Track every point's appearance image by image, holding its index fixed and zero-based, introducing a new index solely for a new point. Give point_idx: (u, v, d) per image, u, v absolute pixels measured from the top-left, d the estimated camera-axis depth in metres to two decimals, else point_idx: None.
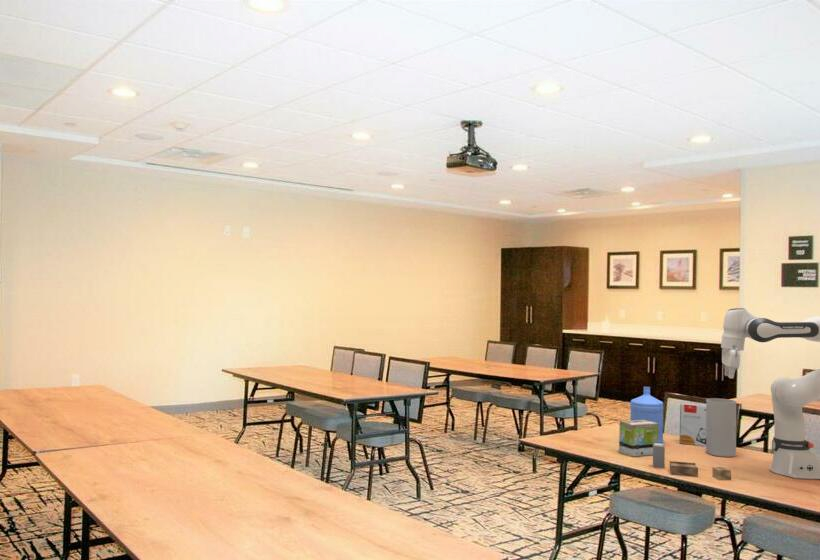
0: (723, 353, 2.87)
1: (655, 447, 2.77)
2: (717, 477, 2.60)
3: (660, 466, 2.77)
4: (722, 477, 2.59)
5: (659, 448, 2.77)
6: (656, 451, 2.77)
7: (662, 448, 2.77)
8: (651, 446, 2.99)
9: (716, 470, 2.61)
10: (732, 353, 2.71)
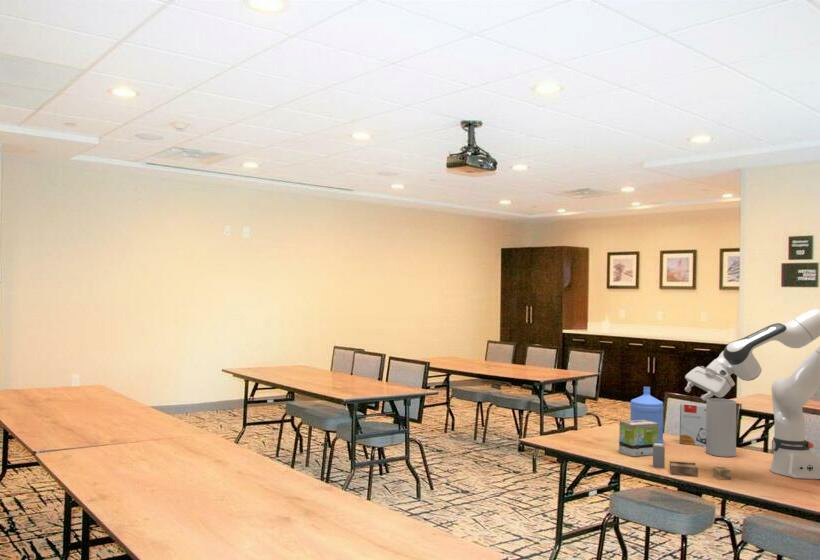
0: None
1: (655, 447, 2.77)
2: (717, 477, 2.60)
3: (660, 466, 2.77)
4: (722, 477, 2.59)
5: (659, 448, 2.77)
6: (656, 451, 2.77)
7: (662, 448, 2.77)
8: (651, 446, 2.99)
9: (716, 470, 2.61)
10: None
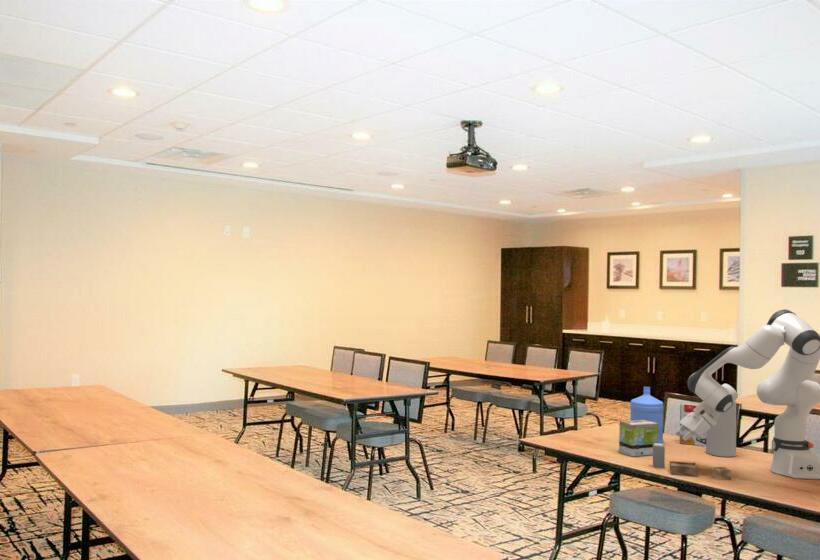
0: None
1: (655, 447, 2.77)
2: (717, 477, 2.60)
3: (660, 466, 2.77)
4: (722, 477, 2.59)
5: (659, 448, 2.77)
6: (656, 451, 2.77)
7: (662, 448, 2.77)
8: (651, 446, 2.99)
9: (716, 470, 2.61)
10: None
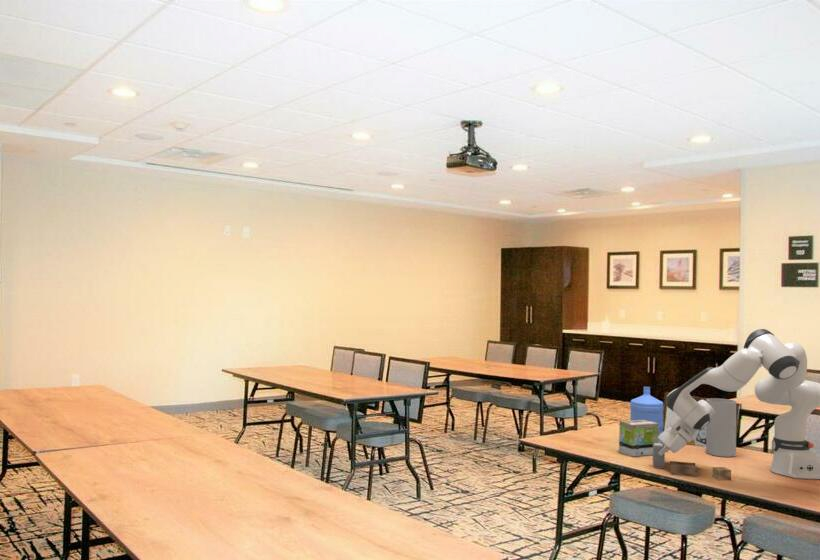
0: None
1: (655, 447, 2.77)
2: (717, 477, 2.60)
3: (660, 466, 2.77)
4: (722, 477, 2.59)
5: (659, 448, 2.77)
6: (656, 451, 2.77)
7: (662, 448, 2.77)
8: (651, 446, 2.99)
9: (716, 470, 2.61)
10: None
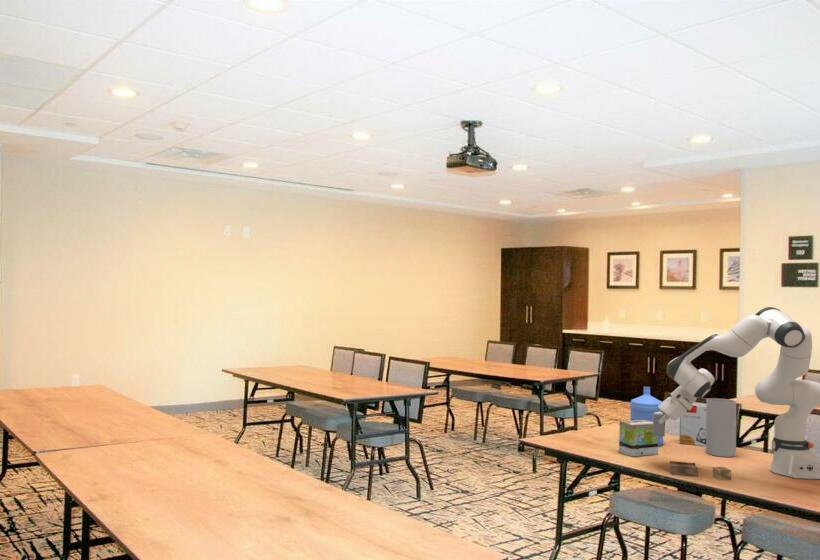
0: None
1: (655, 415, 2.78)
2: (717, 477, 2.60)
3: (660, 434, 2.77)
4: (722, 477, 2.59)
5: (659, 416, 2.77)
6: (656, 419, 2.78)
7: (662, 416, 2.77)
8: (651, 446, 2.99)
9: (716, 470, 2.61)
10: None
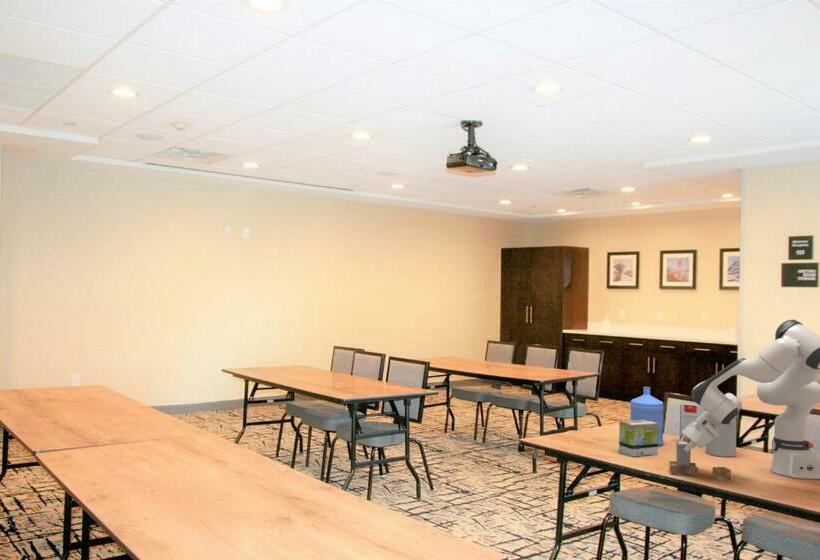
0: None
1: (681, 446, 2.67)
2: (717, 477, 2.60)
3: (686, 465, 2.66)
4: (722, 477, 2.59)
5: None
6: (682, 450, 2.67)
7: None
8: (651, 446, 2.99)
9: (716, 470, 2.61)
10: None
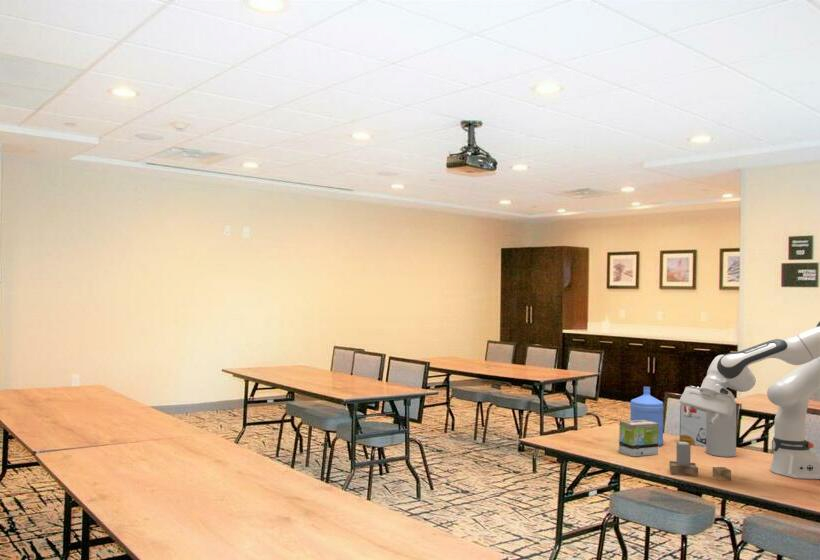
0: None
1: (681, 446, 2.67)
2: (717, 477, 2.60)
3: (686, 465, 2.66)
4: (722, 477, 2.59)
5: (685, 447, 2.67)
6: (682, 450, 2.67)
7: (688, 447, 2.66)
8: (651, 446, 2.99)
9: (716, 470, 2.61)
10: None
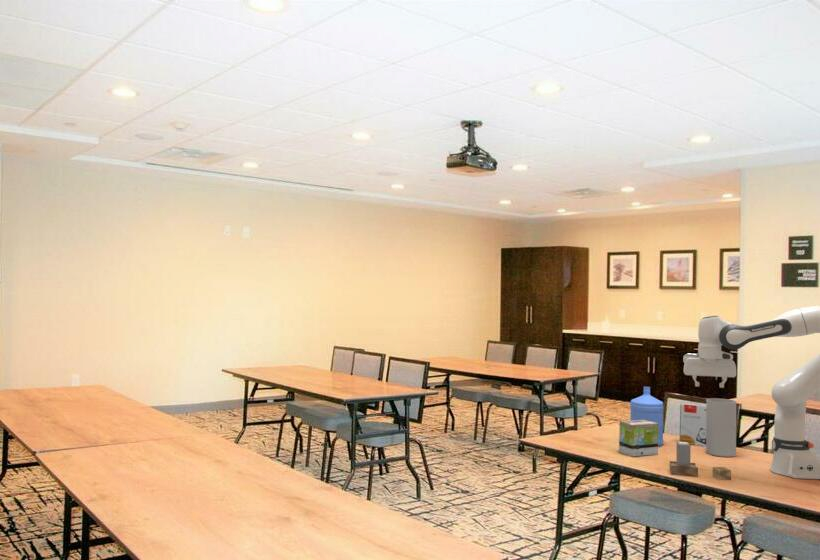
0: None
1: (681, 446, 2.67)
2: (717, 477, 2.60)
3: (686, 465, 2.66)
4: (722, 477, 2.59)
5: (685, 447, 2.67)
6: (682, 450, 2.67)
7: (688, 447, 2.66)
8: (651, 446, 2.99)
9: (716, 470, 2.61)
10: None
